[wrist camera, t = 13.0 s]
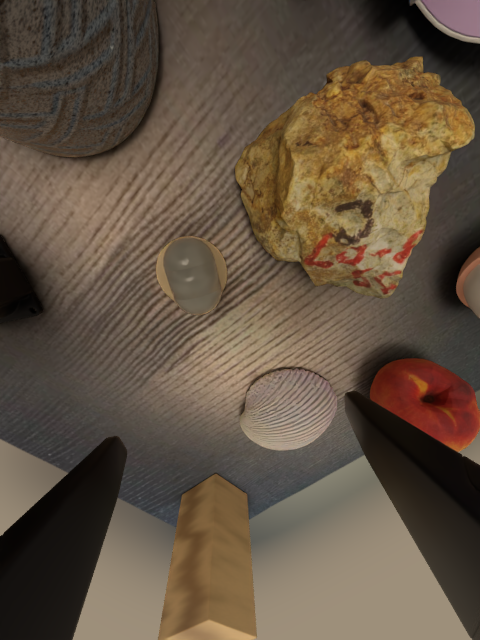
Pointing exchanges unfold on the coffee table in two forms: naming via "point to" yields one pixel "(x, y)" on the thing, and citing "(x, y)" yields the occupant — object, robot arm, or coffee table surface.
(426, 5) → the cell model
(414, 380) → the fruit
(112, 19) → the vase
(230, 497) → the stand
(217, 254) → the coaster
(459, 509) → the robot arm
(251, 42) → the coffee table surface
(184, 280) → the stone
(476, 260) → the toy ball
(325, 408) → the seashell
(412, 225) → the rock
